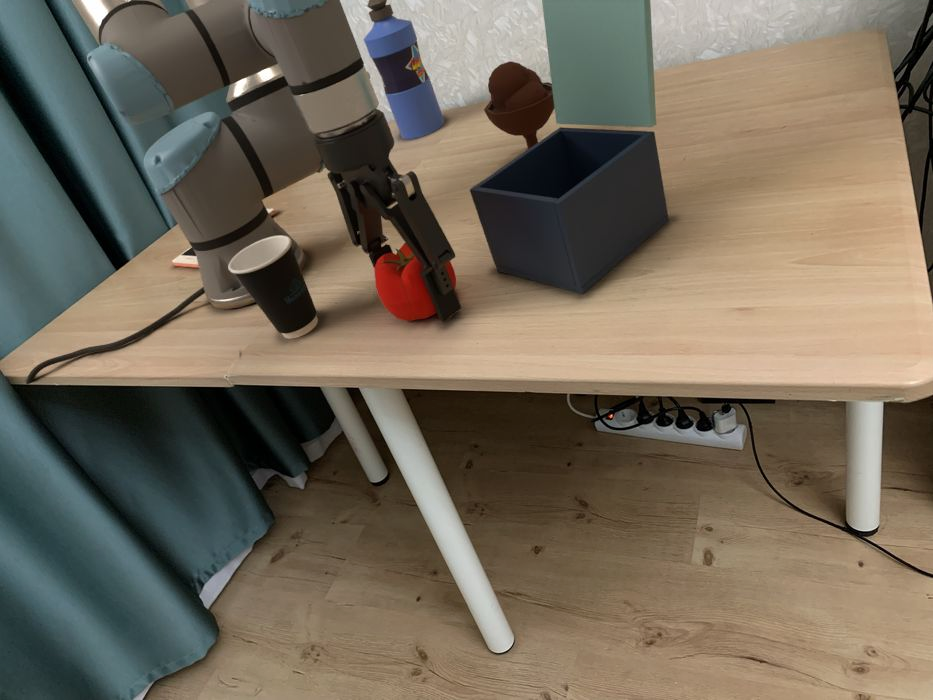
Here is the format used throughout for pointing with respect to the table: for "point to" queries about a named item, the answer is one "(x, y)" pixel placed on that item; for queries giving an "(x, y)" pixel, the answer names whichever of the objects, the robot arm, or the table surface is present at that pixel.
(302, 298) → the dixie cup
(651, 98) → the chest lid
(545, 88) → the ice cream bowl
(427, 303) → the tomato
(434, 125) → the water bottle
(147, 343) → the table surface
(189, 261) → the cell phone
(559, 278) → the chest
